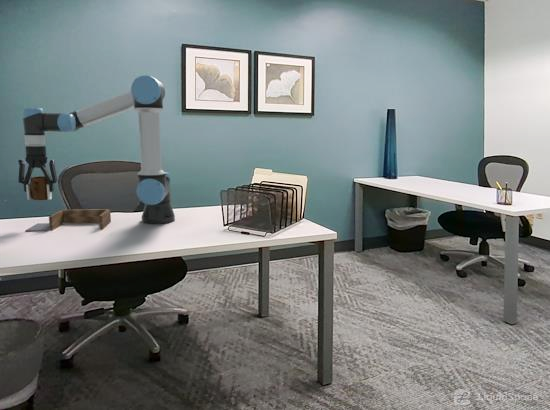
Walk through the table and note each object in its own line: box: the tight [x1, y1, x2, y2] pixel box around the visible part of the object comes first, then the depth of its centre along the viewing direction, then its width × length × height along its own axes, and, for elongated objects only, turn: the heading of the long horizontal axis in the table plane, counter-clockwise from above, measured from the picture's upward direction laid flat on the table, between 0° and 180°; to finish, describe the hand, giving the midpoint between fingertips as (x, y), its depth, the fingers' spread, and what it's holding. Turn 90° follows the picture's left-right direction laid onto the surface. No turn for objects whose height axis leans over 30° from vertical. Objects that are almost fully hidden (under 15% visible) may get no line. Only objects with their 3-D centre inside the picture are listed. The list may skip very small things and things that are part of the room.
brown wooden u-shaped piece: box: [48, 208, 112, 231], centre depth 192 cm, size 21×15×6 cm
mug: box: [29, 175, 49, 201], centre depth 185 cm, size 12×8×9 cm, turn 3°
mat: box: [25, 222, 51, 233], centre depth 188 cm, size 9×13×1 cm, turn 8°
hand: (39, 199), depth 186 cm, fingers closed on mug, 7 cm apart
